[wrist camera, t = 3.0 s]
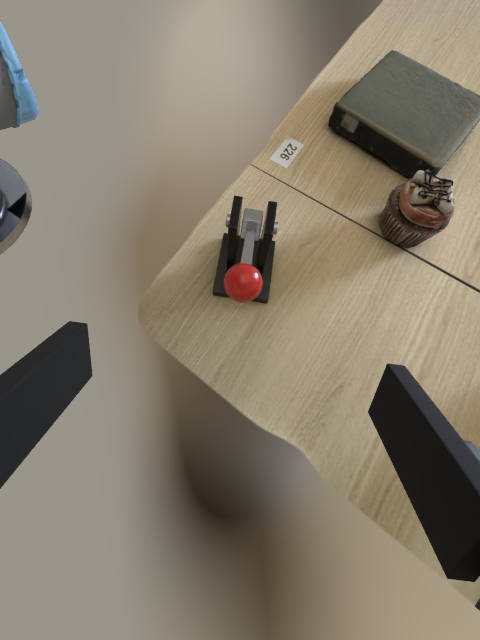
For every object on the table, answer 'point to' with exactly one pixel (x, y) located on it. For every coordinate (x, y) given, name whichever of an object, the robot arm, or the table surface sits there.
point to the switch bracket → (234, 248)
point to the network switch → (407, 114)
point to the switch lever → (246, 262)
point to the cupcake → (417, 209)
